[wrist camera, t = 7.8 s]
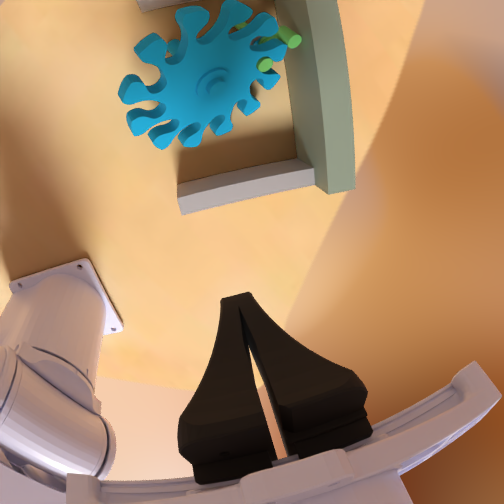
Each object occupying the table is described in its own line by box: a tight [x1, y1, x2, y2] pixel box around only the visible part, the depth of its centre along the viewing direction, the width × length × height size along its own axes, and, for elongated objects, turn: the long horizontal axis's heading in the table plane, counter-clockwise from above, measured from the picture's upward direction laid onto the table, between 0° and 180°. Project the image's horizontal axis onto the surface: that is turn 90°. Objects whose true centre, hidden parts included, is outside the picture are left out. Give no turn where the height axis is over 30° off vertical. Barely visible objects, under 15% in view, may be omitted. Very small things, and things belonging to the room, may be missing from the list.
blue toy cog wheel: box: [118, 0, 302, 150], centre depth 14 cm, size 11×6×10 cm
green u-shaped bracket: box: [136, 0, 355, 215], centre depth 15 cm, size 11×15×5 cm
